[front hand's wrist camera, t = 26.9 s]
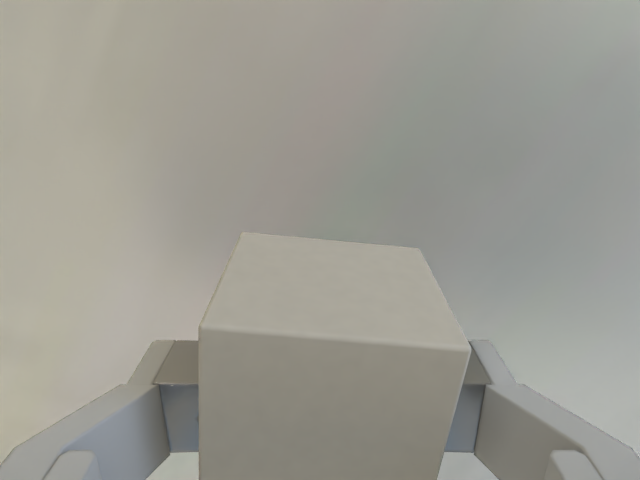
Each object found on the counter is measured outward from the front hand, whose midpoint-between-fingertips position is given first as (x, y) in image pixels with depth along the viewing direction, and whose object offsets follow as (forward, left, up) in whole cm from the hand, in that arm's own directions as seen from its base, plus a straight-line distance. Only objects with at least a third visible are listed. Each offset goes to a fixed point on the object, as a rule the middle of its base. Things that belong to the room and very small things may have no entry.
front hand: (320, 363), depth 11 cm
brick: (0, 0, -2) cm, 2 cm away
